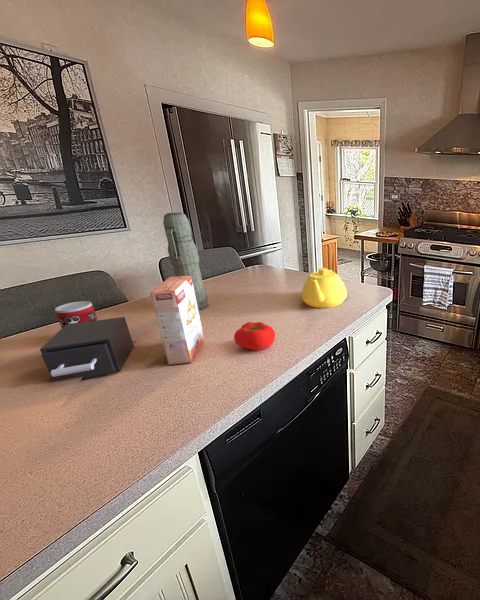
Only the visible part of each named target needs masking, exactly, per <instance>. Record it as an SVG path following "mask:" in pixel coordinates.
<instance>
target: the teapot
mask: <svg viewBox="0 0 480 600" xmlns="http://www.w3.org/2000/svg"><path fill="white" fill-rule="evenodd" d="M347 292H348V291H347V288H346V285H345V283H344V281H343V280H342V279H341V277H340V276H339V274H337V272H335V271H333V270H332V269H328V268H326V267H322V268H321V267H319V268H318V270H316V271H313V272H311V273H310V274H309V275H308V276H307V278H306V280H305V282H304V284H303V287H302V291H301V299H302V301H303V302H304V303H305V304H306V305H307V306H309V307H312V308H316V309H317V308H318V309H328V308H333V307H338V306H339V305H341V304H342V303H343V302H344V301H345V300H346V298H347V295H348V293H347Z"/></svg>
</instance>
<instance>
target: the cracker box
mask: <svg viewBox="0 0 480 600" xmlns="http://www.w3.org/2000/svg"><path fill="white" fill-rule="evenodd" d="M149 295H150V299H151V302H152V306H153V311H154V315H155V318H156V322H157V326H158V329H159V333H160V334H159V335H160V337H161V338H160V339H161V342H162V345H163V349H164V353H165V358H166V362H167V364H168V366H174V365H183V364H190V363H193V360H194V359H195V357H196V355H197V353H198V351H199V350H200V348H201V346H202V345H203V343H204V341H205V337H204V333H203V326H202V322H201V317H200V313H199V310H198V307H197V302H196V297H195V292H194V287H193V283H192V277H191V276H179V277H176V276H169V277H167V278H166V279H165V280H164V281H162V282H161V283H160V284H158V286H156V287H155V288H154V289H152V290H151V291H149Z"/></svg>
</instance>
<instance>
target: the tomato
mask: <svg viewBox="0 0 480 600" xmlns="http://www.w3.org/2000/svg"><path fill="white" fill-rule="evenodd" d="M233 339H234V342H235V344H236V345H237V346H238V347H240V348H243V349H249V350H253V351H261V350H264V349H267V348H269V347H271V346H272V345H273V344H274V341H275V339H276V331H275V329H274V328H273V327H272V326H270V325H269V324H267V323H265V322H262V321H257V322H256V321H255V322H254V321H247V322H246V323H243V324H242V325H241V327H240V328H239V329H237V330H236V331H235V333H234V335H233Z"/></svg>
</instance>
